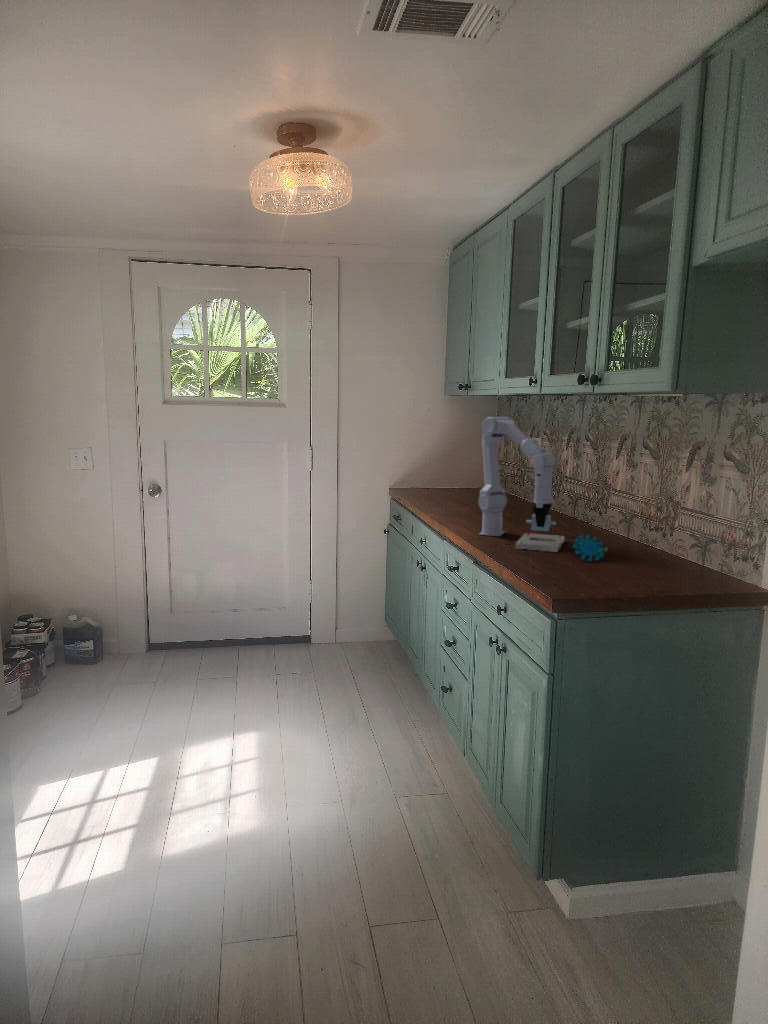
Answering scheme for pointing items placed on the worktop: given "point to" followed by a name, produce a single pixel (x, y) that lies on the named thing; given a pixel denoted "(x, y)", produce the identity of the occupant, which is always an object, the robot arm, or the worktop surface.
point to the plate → (540, 542)
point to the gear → (589, 548)
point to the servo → (546, 524)
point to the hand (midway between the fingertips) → (541, 525)
